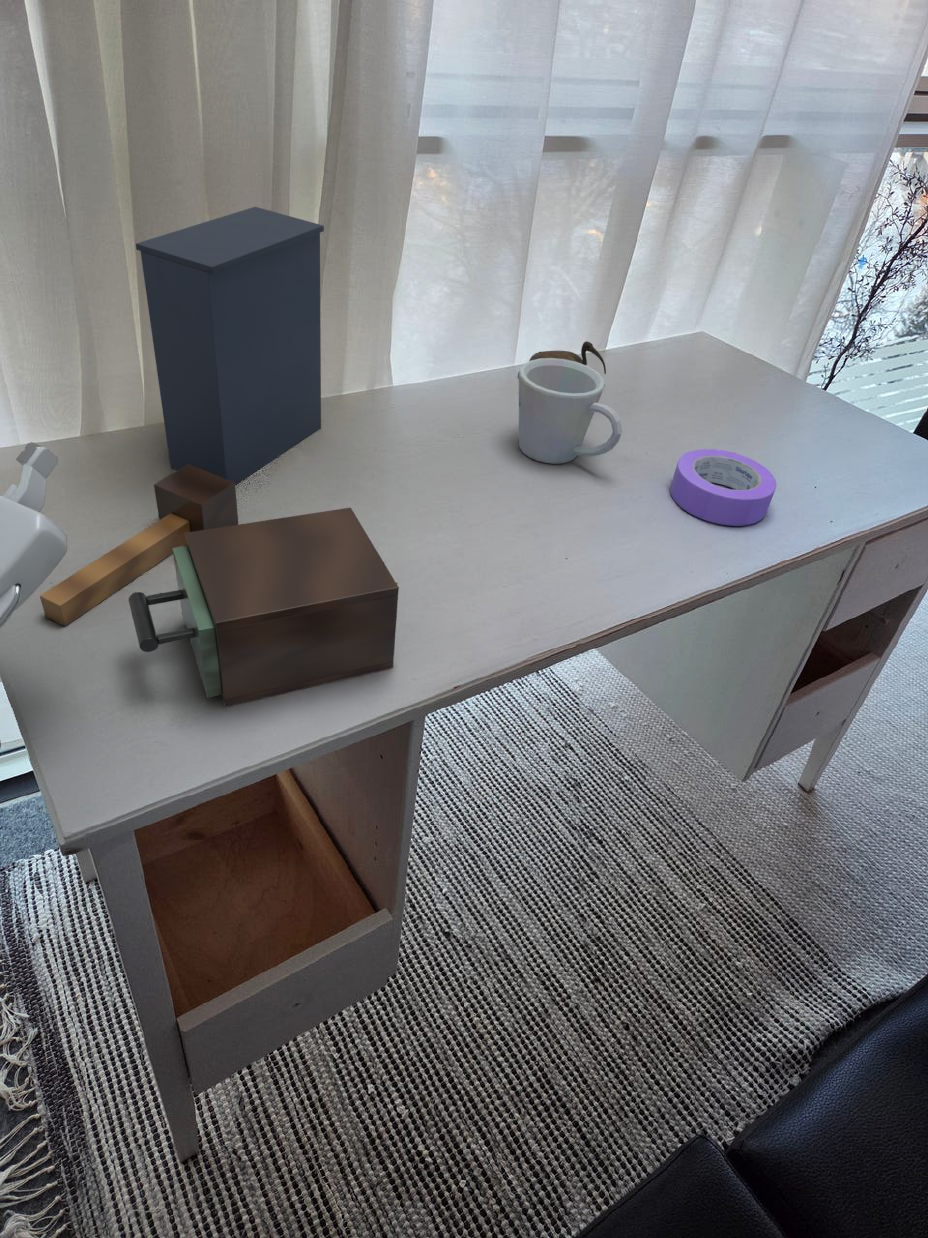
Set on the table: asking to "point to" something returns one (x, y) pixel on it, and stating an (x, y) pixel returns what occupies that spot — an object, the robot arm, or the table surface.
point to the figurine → (570, 355)
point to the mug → (560, 410)
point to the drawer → (194, 618)
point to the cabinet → (295, 602)
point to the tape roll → (718, 502)
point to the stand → (236, 338)
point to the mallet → (148, 541)
